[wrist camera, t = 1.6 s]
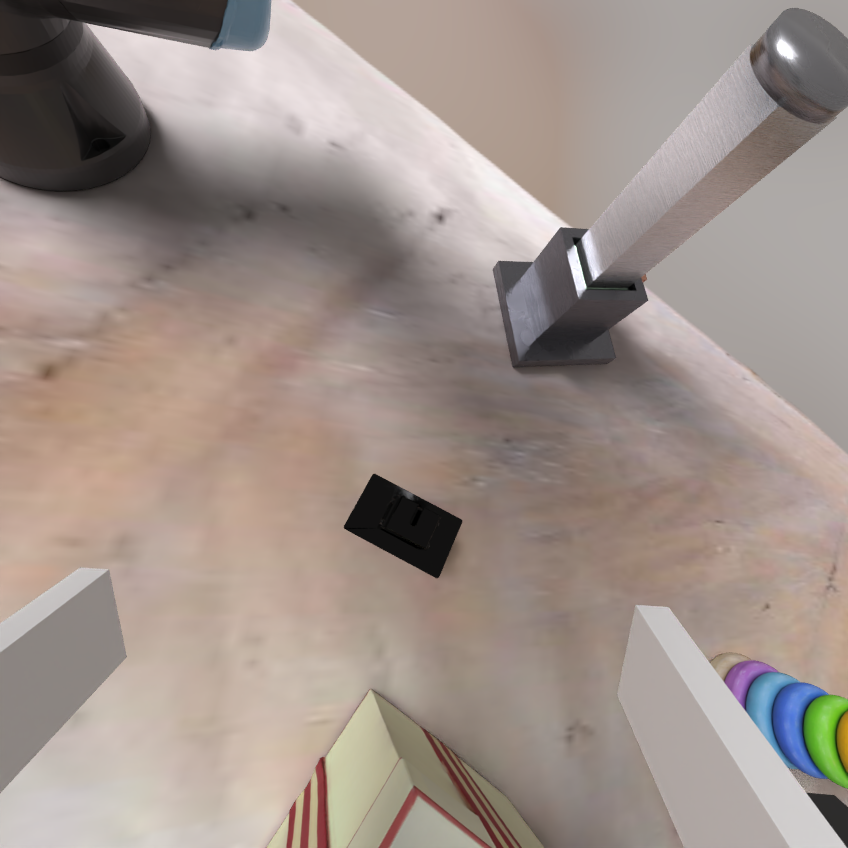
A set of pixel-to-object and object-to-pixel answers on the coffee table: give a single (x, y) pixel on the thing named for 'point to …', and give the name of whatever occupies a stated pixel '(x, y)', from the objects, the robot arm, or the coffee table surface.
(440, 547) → the black rectangular block
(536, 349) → the stand base
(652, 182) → the stand post
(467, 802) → the gift box
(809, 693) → the stacking toy
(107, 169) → the robot arm
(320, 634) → the coffee table surface
